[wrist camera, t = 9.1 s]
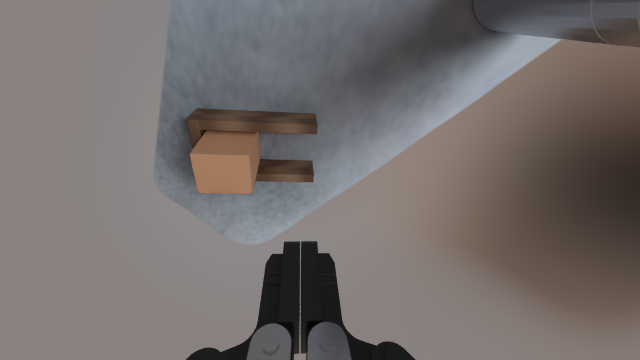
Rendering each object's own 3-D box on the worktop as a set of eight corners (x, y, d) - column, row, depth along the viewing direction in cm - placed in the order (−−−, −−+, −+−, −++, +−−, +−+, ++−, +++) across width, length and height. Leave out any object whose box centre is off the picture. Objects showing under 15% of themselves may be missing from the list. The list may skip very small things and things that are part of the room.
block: (258, 124, 35) (248, 155, 27) (260, 156, 38) (252, 193, 30) (212, 122, 34) (189, 153, 27) (217, 155, 37) (198, 193, 30)
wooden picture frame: (315, 114, 35) (317, 124, 32) (311, 167, 40) (313, 182, 36) (197, 108, 33) (186, 119, 30) (208, 165, 38) (199, 180, 35)
